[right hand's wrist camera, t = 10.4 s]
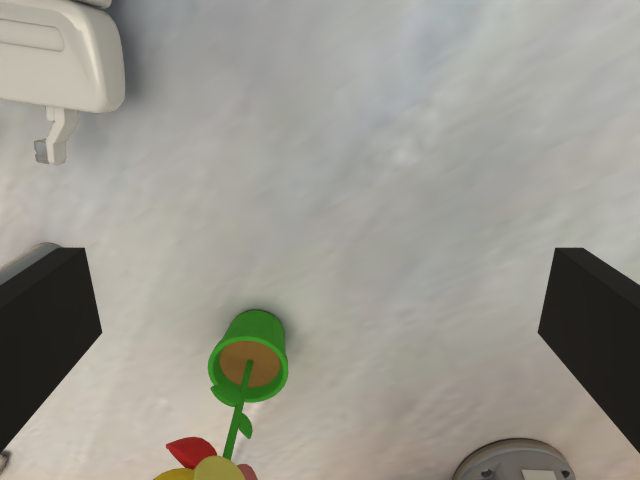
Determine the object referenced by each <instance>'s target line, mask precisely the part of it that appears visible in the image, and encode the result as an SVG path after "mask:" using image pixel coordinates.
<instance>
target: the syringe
mask: <svg viewBox="0 0 640 480" xmlns="http://www.w3.org/2000/svg"><path fill="white" fill-rule="evenodd" d="M7 460H8V458H7V457H6V456H4V455H0V474H1V473H2V471H3V469H4V467H5V466H6V465H5V463H6V461H7Z"/></svg>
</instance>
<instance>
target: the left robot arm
mask: <svg viewBox="0 0 640 480" xmlns="http://www.w3.org/2000/svg"><path fill="white" fill-rule="evenodd" d="M111 2H112V0H0V99H3V100H10V101H17V102H23V103H30V104H37V105H44V106H45V109H46V119H47V120H48V121H54V124H53V126H52V128H51V130H50V132H49V134H48V136H47V138H46V139H43V140H37V141H34V145H35V150H36V152H37V154H36V155H35V156H36V161H37V162H39V163H45V164H52V165H59V164H62V163H64V162H65V161H66V141H67V140H68V138H69V136H70V135H71V133H72V132H73V130H74V128H75V127H76V125H77V123H78V122H79V111H85V112H92V113H105V112H111V111H115V110H116V109H117V108H118V107H119V106H120V105H121V104H122V102H123V101H124V99H125V71H124V60H123V52H122V45H121V39H120V35H119V31H118V29H117V26H116V24H115V23H114V21H113V20H112V18H111V17H110V16H109V15H108V14H107V13H105V12H104V11H102V10H100V9H105V8H108V7H109V6H110V5H111Z"/></svg>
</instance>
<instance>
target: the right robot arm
mask: <svg viewBox="0 0 640 480" xmlns="http://www.w3.org/2000/svg"><path fill="white" fill-rule="evenodd" d="M101 334H102V329H101V324H100V319H99V314H98V310H97V305H96V300H95V295H94V290H93V286H92V281H91V276H90V271H89V266H88V261H87V257H86V252H85V248H56V249H55V250H53V251H52V252H50V253H49V254H47V255H45V256H44V257H42V258H41V259H39V260H38V261H36V262H35V263H33V264H32V265H30V266H29V267H27V268H26V269H24V270H23V271H21V272H20V273H18V274H17V275H15V276H14V277H12V278H11V279H9V280H8V281H6V282H4V283H3V284H1V285H0V453H1V452H2V451H3V450H4V449H5V447H6V446H7V445H8V444H9V443H10V441H11V440H12V439H13V438H14V437H15V436H16V434H17V433H18V432H19V431H20V430H21V428H22V427H23V426H24V425H25V424H26V423H27V421H28V420H29V419H30V418H31V417H32V415H33V414H34V413H35V412H36V411H37V409H38V408H39V407H40V406H41V405H42V404H43V402H44V401H45V400H46V399H47V398H48V396H49V395H50V394H51V393H52V392H53V391H54V389H55V388H56V387H57V386H58V385H59V383H60V382H61V381H62V380H63V379H64V377H65V376H66V375H67V374H68V373H69V372H70V370H71V369H72V368H73V367H74V366H75V364H76V363H77V362H78V361H79V360H80V358H81V357H82V356H83V355H84V354H85V353H86V351H87V350H88V349H89V348H90V347H91V345H92V344H93V343H94V342H95V341H96V340H97V338H98V337H99V336H100V335H101ZM538 334H539V335H540V336H541V337H542V338H543V340H544V341H545V342H546V343H547V344H548V345H549V347H550V348H551V349H552V350H553V351H554V353H555V354H556V355H557V356H558V357H559V358H560V360H561V361H562V362H563V363H564V364H565V366H566V367H567V368H568V369H569V370H570V372H571V373H572V374H573V375H574V376H575V377H576V379H577V380H578V381H579V382H580V383H581V385H582V386H583V387H584V388H585V389H586V391H587V392H588V393H589V394H590V395H591V396H592V398H593V399H594V400H595V401H596V402H597V404H598V405H599V406H600V407H601V408H602V409H603V411H604V412H605V413H606V414H607V415H608V417H609V418H610V419H611V420H612V421H613V423H614V424H615V425H616V426H617V427H618V428H619V430H620V431H621V432H622V433H623V434H624V436H625V437H626V438H627V439H628V440H629V441H630V443H631V444H632V445H633V446H634V447H635V449H636V450H637V451H638V452H639V453H640V285H639V284H637V283H635V282H634V281H632V280H631V279H629V278H628V277H626V276H625V275H623V274H622V273H620V272H619V271H617V270H616V269H614V268H613V267H611V266H610V265H608V264H607V263H605V262H604V261H602V260H601V259H599V258H598V257H596V256H595V255H593V254H591V253H590V252H588V251H587V250H585V249H584V248H555V252H554V257H553V261H552V266H551V271H550V276H549V281H548V286H547V290H546V295H545V300H544V305H543V310H542V314H541V319H540V324H539V329H538ZM453 480H576V477H575V475H574V473H573V471H572V469H571V468H570V466H569V465H568V463H567V461H566V460H565V458H564V457H563V456H562V455H561V454H560V453H559V452H558V451H557V450H556V449H554V448H553V447H551V446H549V445H547V444H544V443H541V442H538V441H534V440H526V439H513V440H506V441H501V442H497V443H494V444H491V445H488V446H486V447H484V448H482V449H480V450H478V451H476V452H475V453H473V454H472V455H470V456H469V457H468V458H467V459H466V460H465V461H464V462H463V463H462V464H461V465H460V467H459V468H458V470H457V471H456V473H455V475H454V478H453Z"/></svg>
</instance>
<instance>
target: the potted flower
mask: <svg viewBox="0 0 640 480" xmlns="http://www.w3.org/2000/svg"><path fill="white" fill-rule="evenodd" d="M208 373H209V376H210V379H211V381H212V383H213V384H214V386H212V387H211V391H212V392H213V394H214V395H215V397H216V398H218V399H219V400H220V401H221V402H222V403H224V404H226V405H228V406H231V407H235V410H234V414H233V418H232V422H231V426H230V430H229V434H228V437H227V441H226V445H225V449H224V453H223V457H221V456H217V453H216V451H215V449H214V448H213V447H212V445H211V444H210V443H209V442H207V441H205V440H204V439H202V438H197V437H188V438H183V439H180V440H176V441H174V442H171V443H168V444H166V448H167V449H169V451H170V452H171V454H172V455H173V456H174V457H175V458H176V459H177V460H178V461H179V462H180V463H181V464H182V465H183V466H184V467H185V468H179V469H172V470H170V471H167V472H164V473H162V474H161V475H159V476H158V477H156V478H155V479H153V480H258V479H257V477H256V475H255V472H254V471H253V469H252V468H251V467H250V466H249V465H247V464H240V465H237V466H236V465H235V464H234V463H233V462H232V461H231V456H232V452H233V448H234V444H235V439H236V435H237V431H238V428H239V430H240V431H241V432H242V433H243V434H244V435H245V436H246V437H247V438H248V439H250V438H251V435H252V425H251V422H250V420H249V419H248V417H247V416H246V415H245V414H243V413H242V409H243V405H244V402H260V401H264V400H267V399H269V398H271V397H273V396H274V395H276V394H277V393H278V392H279V391H280V390H281V389H282V388H283V387H284V385H285V383H286V381H287V377H288V360H287V356H286V353H285V335H284V329H283V327H282V325H281V323H280V322H279V321H278V319H277V318H275V317H274V316H273V315H271V314H269V313H267V312H264V311H259V310H252V311H247V312H244V313H242V314H240V315H239V316H237V317H236V318H235V319H234V320H233V322H232V323H231V325H230V327H229V328H228V330H227V332H226V333H225V335H224V337H223V339H222V340H221V341H220V342H219V343H218V344H217V345H216V347H215V348H214V350H213V352H212V354H211V356H210V359H209V362H208Z"/></svg>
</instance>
